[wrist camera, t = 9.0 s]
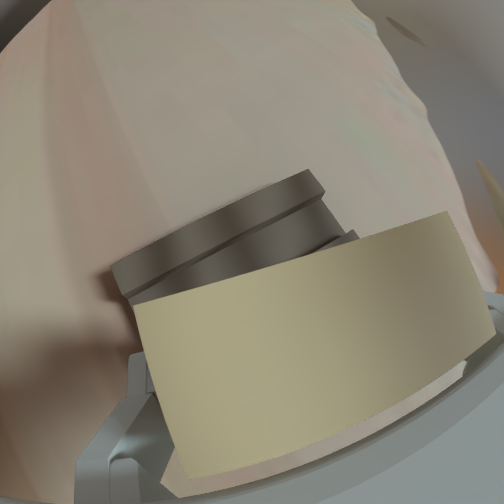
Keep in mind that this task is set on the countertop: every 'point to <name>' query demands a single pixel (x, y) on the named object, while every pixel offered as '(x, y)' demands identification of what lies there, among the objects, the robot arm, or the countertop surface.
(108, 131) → the countertop surface
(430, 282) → the wooden block
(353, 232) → the bridge
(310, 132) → the countertop surface
